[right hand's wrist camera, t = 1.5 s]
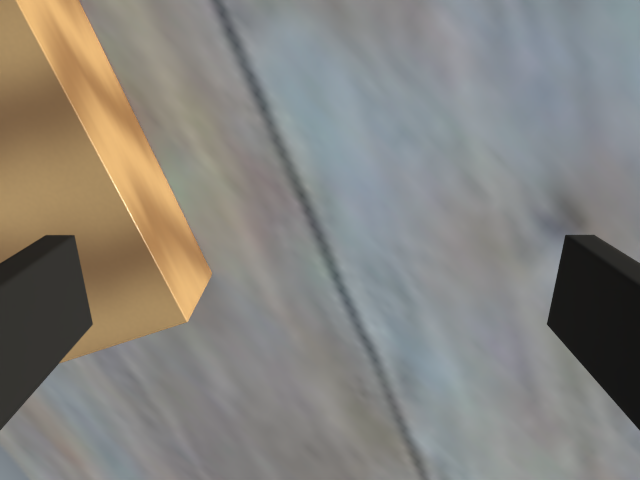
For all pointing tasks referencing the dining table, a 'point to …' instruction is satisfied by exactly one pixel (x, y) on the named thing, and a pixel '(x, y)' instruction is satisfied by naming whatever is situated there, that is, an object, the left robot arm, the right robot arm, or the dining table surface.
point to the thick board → (89, 176)
